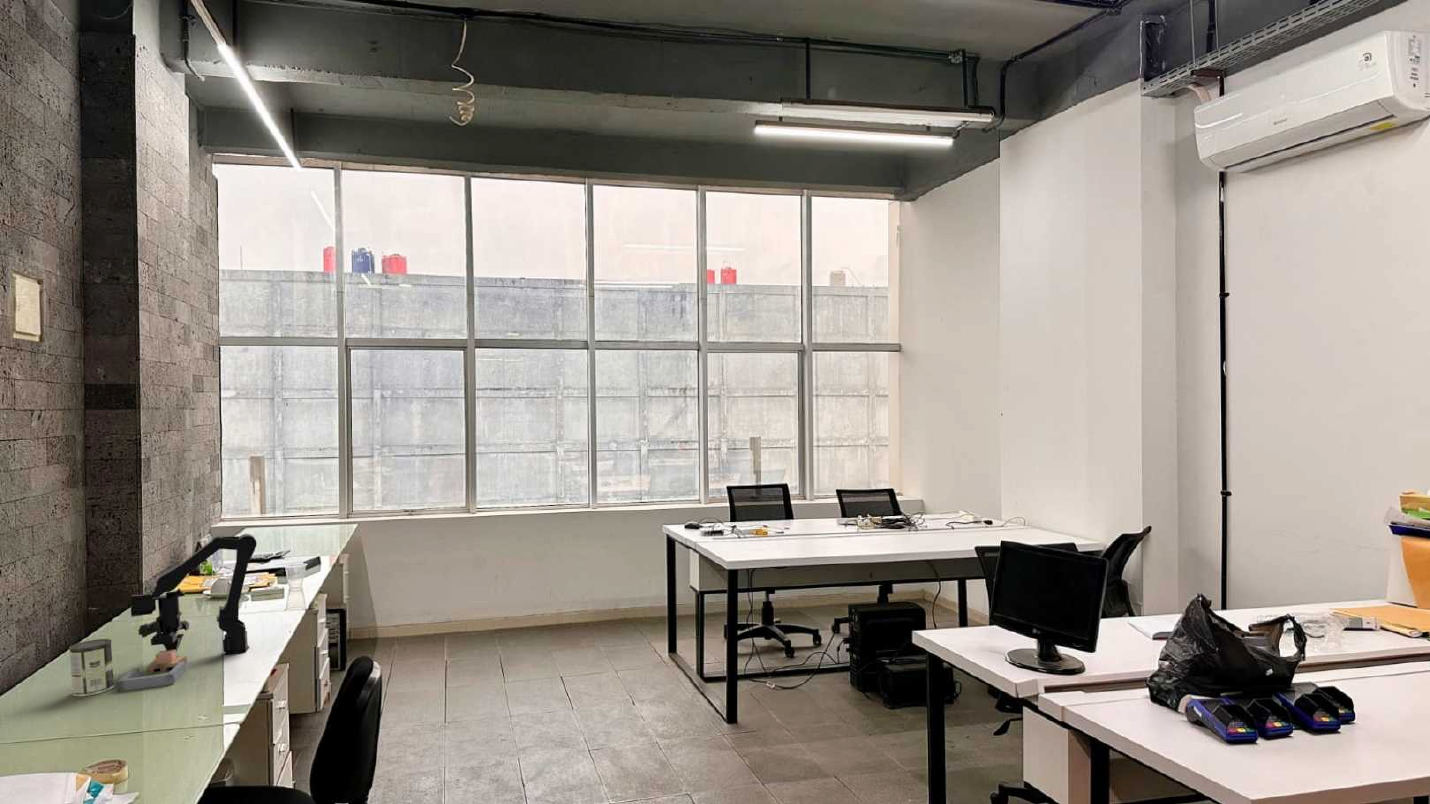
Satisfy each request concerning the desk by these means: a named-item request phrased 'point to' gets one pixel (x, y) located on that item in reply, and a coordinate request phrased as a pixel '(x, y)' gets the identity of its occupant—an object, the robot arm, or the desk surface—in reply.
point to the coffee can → (91, 667)
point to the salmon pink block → (166, 656)
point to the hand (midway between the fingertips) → (172, 658)
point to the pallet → (165, 664)
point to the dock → (150, 678)
